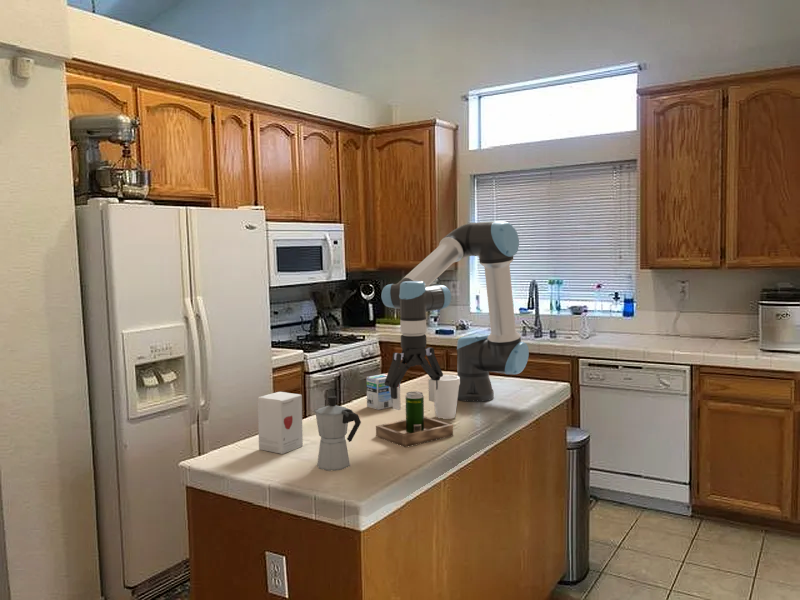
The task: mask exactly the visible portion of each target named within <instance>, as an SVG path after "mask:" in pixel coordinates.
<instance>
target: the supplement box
mask: <svg viewBox="0 0 800 600" xmlns="http://www.w3.org/2000/svg"><path fill="white" fill-rule="evenodd" d="M257 414H258V415H257V416H258V417H257V419H258V423H257V424H258V428H257V429H258V450H261V451H267V452H270V453H274V454H275V453H276V454H280V455H284V454H286V453H289V452H291V451H293V450H296V449H298V448H299V449H300V448H301V447H303V446H304V444H303V441H304V439H303V438H304V437H303V435H304V434H303V396H302V394H299V393H291V392H286V391H277V392H273V393H269V394H265V395H262V396H258V397H257Z"/></svg>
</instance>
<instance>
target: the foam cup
mask: <svg viewBox="0 0 800 600" xmlns="http://www.w3.org/2000/svg"><path fill="white" fill-rule="evenodd" d="M459 385H460V377H458V376H457V375H454V374H443V376H442V377H440V380H438V389H437V390H436V401H437V402H433V404H434V412H435V417H436V418H437V417H438V418H437V419H440V418H443V420H450V419H454V418H456V412H457V404H458V400H457V399H458V390H459Z"/></svg>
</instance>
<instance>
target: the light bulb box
mask: <svg viewBox="0 0 800 600" xmlns="http://www.w3.org/2000/svg"><path fill="white" fill-rule="evenodd" d="M387 374H388V372H387V373H381V374H376V375H370V376H366V407H367V408H371V409H374V410H384V409H388V408H393V398H391V388H390V387H389V386H386V385H385V384H384V383H385V380H386V377H387ZM398 387H399V388H400V389H401V383H400V384H399V385H398Z"/></svg>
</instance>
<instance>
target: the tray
mask: <svg viewBox="0 0 800 600" xmlns="http://www.w3.org/2000/svg"><path fill="white" fill-rule="evenodd" d="M375 436H377V437H376V438H380V439H382V440H384V439H385V440H384V441H387V442H389V441H390V442H389V443H392V442H393V444H395V445H397V444H398V446H400V445H401V446H400V447H403V448H408V446H409V447H413V446H417V445H420V443H421V444H424V442H425V443H427V441H429V442H431V440H433V441H437V440H441V439H444V438H450V437H453V436H454V425H453V424H451V423H448V422H445V421H442V420H439V419H434V418H433V417H432V418H431V417H428V416H425V415H424V430H423V431H419V432H414V433H410V434H407V432H406V418H405V419H401V420H398V421H392V422H387V423H384V424H378V425H375ZM440 438H441V439H440ZM436 439H437V440H436ZM416 444H417V445H416ZM412 445H413V446H412Z"/></svg>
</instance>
